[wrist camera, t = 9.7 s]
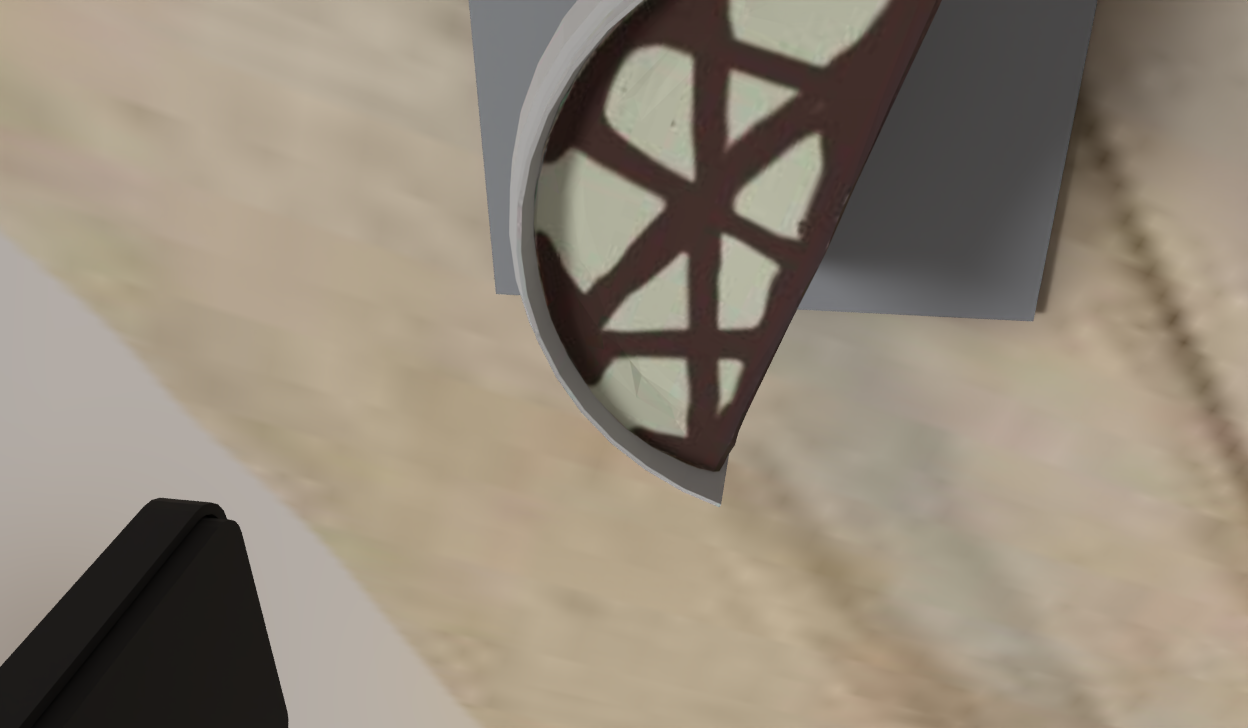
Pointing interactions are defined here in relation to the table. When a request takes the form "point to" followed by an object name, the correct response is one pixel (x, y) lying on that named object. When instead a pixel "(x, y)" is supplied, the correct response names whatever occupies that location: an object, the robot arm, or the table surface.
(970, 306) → the gray mat
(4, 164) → the table surface
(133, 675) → the robot arm
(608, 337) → the food container
